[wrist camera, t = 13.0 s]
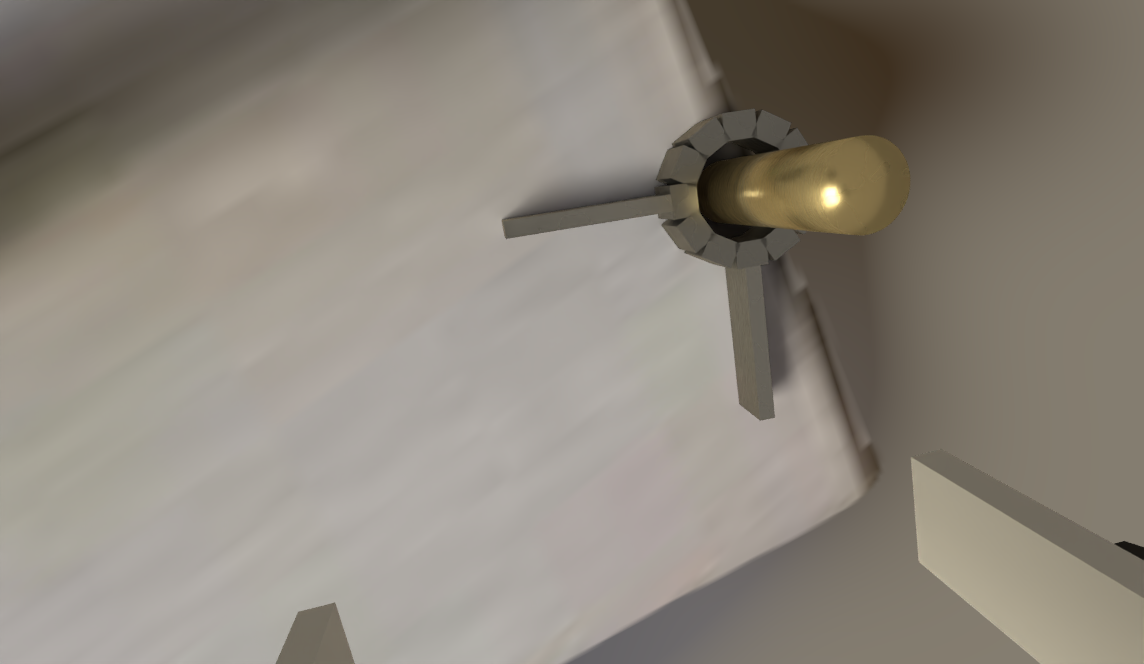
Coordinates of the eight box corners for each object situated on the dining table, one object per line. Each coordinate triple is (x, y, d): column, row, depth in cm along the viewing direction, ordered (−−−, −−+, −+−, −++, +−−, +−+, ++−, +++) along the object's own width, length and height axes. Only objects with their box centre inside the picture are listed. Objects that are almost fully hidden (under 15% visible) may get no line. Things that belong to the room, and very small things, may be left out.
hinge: (489, 152, 40) (490, 148, 36) (786, 108, 41) (813, 99, 38) (540, 442, 44) (545, 463, 40) (808, 390, 45) (834, 405, 42)
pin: (691, 165, 41) (815, 143, 26) (750, 155, 42) (908, 128, 26) (698, 227, 42) (822, 242, 27) (756, 217, 43) (912, 226, 27)
